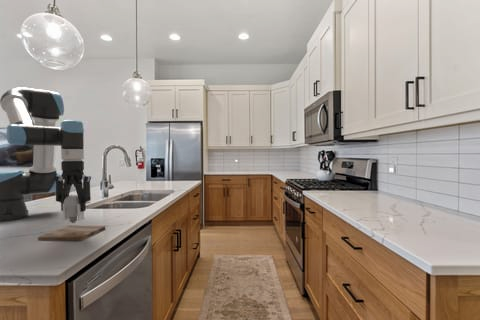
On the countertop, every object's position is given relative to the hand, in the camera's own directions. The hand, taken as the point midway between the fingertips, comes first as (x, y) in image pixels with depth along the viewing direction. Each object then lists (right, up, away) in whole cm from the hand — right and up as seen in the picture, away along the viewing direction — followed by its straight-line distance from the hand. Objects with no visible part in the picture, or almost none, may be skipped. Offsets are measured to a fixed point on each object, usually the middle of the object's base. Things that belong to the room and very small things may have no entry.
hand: (73, 219), depth 107 cm
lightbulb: (0, -2, 0) cm, 2 cm away
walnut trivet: (0, -6, 0) cm, 6 cm away
